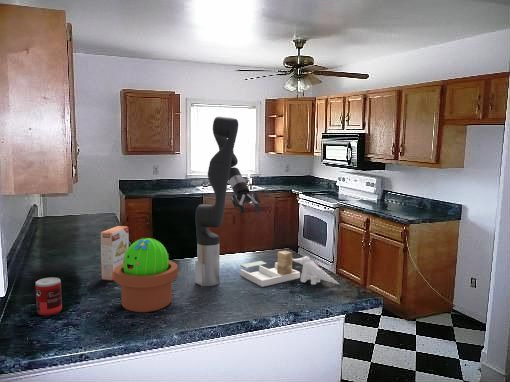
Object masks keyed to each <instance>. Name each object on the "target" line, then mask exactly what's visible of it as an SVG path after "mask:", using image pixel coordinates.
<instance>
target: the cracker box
mask: <svg viewBox="0 0 510 382" xmlns="http://www.w3.org/2000/svg"><path fill="white" fill-rule="evenodd" d="M129 236H130V235H129V226H126V225H125V226H124V225H117V226H114V227H112V228H108V229H106V230H104V231H100V254H101V255H100V265H101V266H100V269H101V272H100V273H101V281H102V280H103V281H104V280H105V281H114V269H115V268H116V267H117V266H119V265H121V264H123V259H124V256H125V253H126V251H127V249H128V248H129V247H130V241H129V238H130V237H129Z"/></svg>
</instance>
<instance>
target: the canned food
mask: <svg viewBox="0 0 510 382" xmlns="http://www.w3.org/2000/svg"><path fill="white" fill-rule="evenodd" d="M35 299H36V300H35V302H36V311H37V314H38V315H40V316H45V317H46V316H52V315H57V314H58V313H60V312H61V311H62V309H63V303H62V281H61V279H60V278H59V277H54V276H53V277H44V278H40V279H38V280H37V281H35Z"/></svg>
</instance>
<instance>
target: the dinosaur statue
mask: <svg viewBox="0 0 510 382" xmlns="http://www.w3.org/2000/svg"><path fill="white" fill-rule="evenodd" d="M292 262H295V263H297V264H300V265H302V269H301V273H300V282H301V283H306V282H307V281H310V284H311V285H317V284H318V283H320V282H321V280H322V281H325V282H329V283H333V284H336V285H340V282H338V281H337V280H336V279H334V277H331V275H329V274H328V273H327V272H326V270H323V268H322V267H321V268H320V267H319V265H318V264H317V263H315V261H314V260H311V258H310V256H308V255H305V256H302V257H300V258H292Z"/></svg>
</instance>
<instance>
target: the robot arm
mask: <svg viewBox="0 0 510 382" xmlns="http://www.w3.org/2000/svg"><path fill="white" fill-rule="evenodd" d="M238 130H239V121H238V119H237V118H235V117H227V116H216V117H215V118H214V119H213V122H212V132H213V133H212V134H213V136H214V139H215V142H216V144H217V146H218V151H217V152H216V153H215V154H214V155H213V157H211V158H210V161H209V165H208V171H207V178H208V181H209V183H210V185H211V188H212V189H213V192H214V196H215V202H214V204H204V203H203V204H202V203H201V204H199V205H198V206H197V207H196V210H195V218H194V219H195V228H196V230H195V232H196V234H195V235H196V243H197V244H196V246H197V249H196V253H197V254H196V256H197V258H196V259H197V260H195V270H194V271H195V283H196V284H198V285H199V286H200V287H213V286H217V285H219V284H220V236H219V235H218V234H216V233H214V232H212V231H211V230H210V229H209V228H220V227H221V226H222V224H223V221H224V215H225V204H226V194H227V188H228V183H229V185H230V188H231V189H232V192H233V194H232V196H231V197H230V200H231V202H232V204H233V208H238V210H239V212H240V213H241V214H242V215H244V214H245V213H246V209H245V208H244V206H243V204H249V205H251V206H253V207H254V209H255V211H256V213H258V214H259V213H260V212H261V207H260V204H261V203H262V202H261V201H262V200H260V197H259V196H258V195H257V193H256V192H255V193H251V192H250V189H249V187H248V184H247V182H246V181H245V179H244V177H243V175H242V174H241V171H240V169H239V168H238V167H236V166H237V165H238V158H237V156H236V155H235V153H234V152H235V151H234V148H235V143H236V139H237V135H238Z"/></svg>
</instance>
